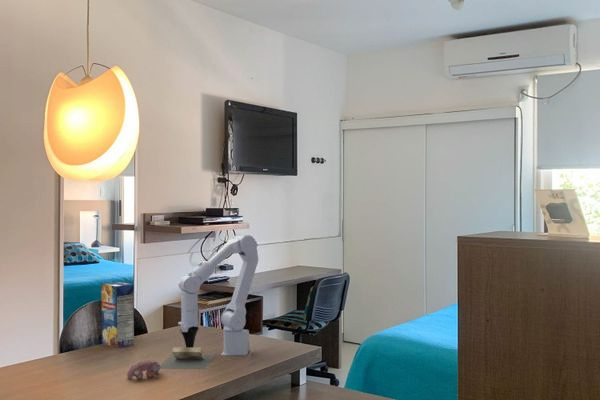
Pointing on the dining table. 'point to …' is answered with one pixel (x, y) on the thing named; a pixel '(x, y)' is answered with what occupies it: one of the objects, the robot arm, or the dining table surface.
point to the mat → (186, 363)
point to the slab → (187, 353)
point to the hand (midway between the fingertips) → (189, 348)
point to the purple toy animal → (143, 369)
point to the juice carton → (118, 314)
